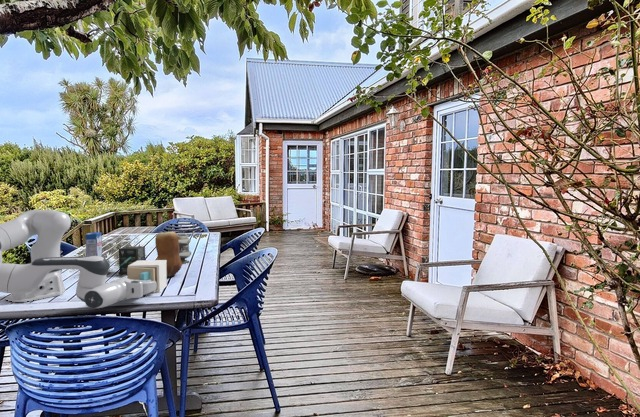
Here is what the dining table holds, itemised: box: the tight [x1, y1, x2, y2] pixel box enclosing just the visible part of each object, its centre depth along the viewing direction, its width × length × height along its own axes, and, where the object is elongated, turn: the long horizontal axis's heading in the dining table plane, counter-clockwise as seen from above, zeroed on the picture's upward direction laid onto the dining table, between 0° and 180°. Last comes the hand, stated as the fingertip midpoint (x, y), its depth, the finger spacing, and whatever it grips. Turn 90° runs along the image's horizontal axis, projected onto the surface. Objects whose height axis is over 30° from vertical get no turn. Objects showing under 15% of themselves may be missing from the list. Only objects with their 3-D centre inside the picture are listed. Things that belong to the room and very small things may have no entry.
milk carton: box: [84, 231, 103, 257], centre depth 244 cm, size 10×6×20 cm, turn 13°
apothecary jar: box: [177, 234, 192, 265], centre depth 250 cm, size 12×12×18 cm
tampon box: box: [118, 245, 146, 275], centre depth 224 cm, size 11×9×15 cm
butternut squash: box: [154, 230, 183, 278], centre depth 213 cm, size 14×13×25 cm
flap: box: [126, 267, 156, 293], centre depth 177 cm, size 6×13×11 cm, turn 81°
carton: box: [128, 259, 168, 293], centre depth 188 cm, size 12×14×13 cm
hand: (145, 280), depth 176 cm, fingers open, 3 cm apart
